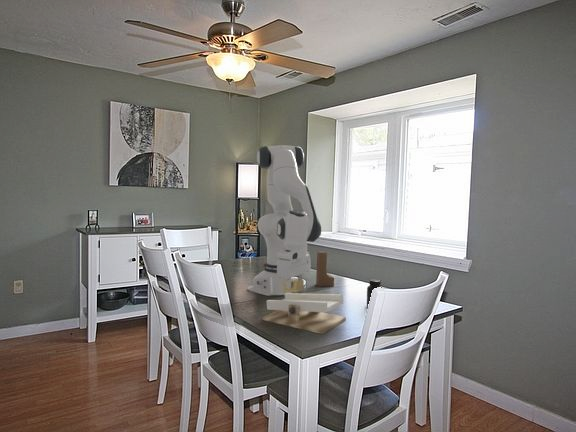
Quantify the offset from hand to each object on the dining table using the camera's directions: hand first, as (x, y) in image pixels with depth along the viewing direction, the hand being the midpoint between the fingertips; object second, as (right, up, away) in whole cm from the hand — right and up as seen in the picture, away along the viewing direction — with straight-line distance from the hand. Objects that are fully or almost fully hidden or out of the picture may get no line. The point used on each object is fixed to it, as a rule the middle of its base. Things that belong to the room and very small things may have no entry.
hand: (293, 286), depth 158 cm
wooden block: (+18, -10, +57) cm, 60 cm away
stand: (+4, -13, -2) cm, 13 cm away
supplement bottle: (+36, -12, +18) cm, 42 cm away
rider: (0, -2, 0) cm, 2 cm away
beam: (+4, -7, -3) cm, 8 cm away
